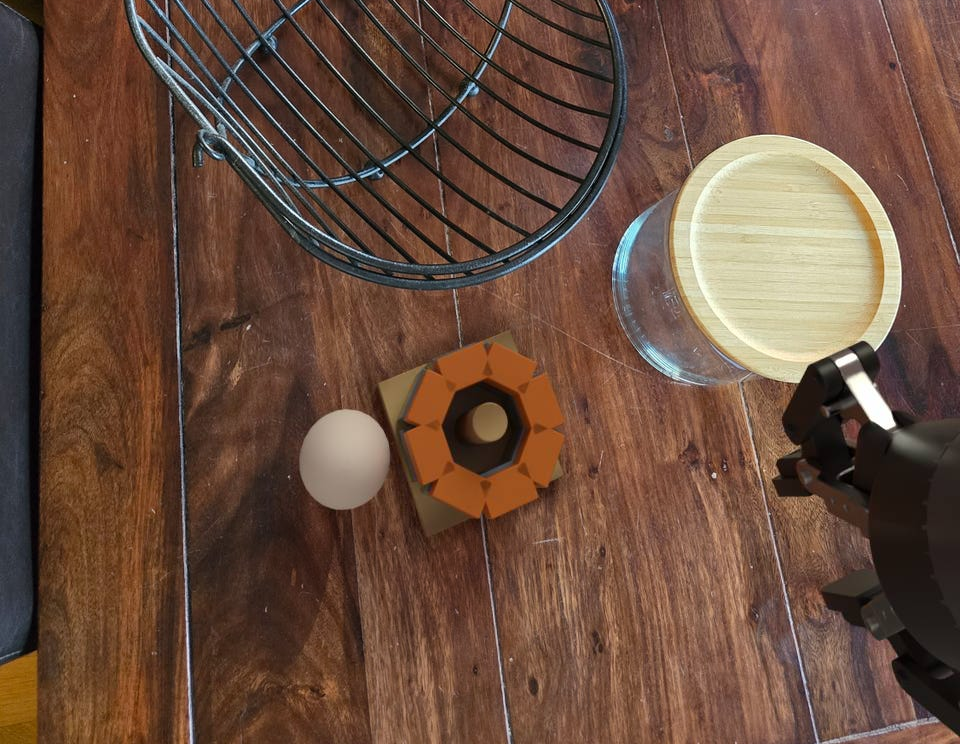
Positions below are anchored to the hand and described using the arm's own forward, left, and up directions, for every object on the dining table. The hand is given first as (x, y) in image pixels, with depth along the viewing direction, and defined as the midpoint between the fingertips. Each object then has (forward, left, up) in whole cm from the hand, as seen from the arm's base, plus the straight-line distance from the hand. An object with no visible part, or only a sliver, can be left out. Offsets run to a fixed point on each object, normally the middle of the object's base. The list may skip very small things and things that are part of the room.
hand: (818, 532), depth 49 cm
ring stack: (+9, +9, -25) cm, 28 cm away
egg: (+10, +17, -25) cm, 32 cm away
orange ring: (+9, +9, -20) cm, 23 cm away
